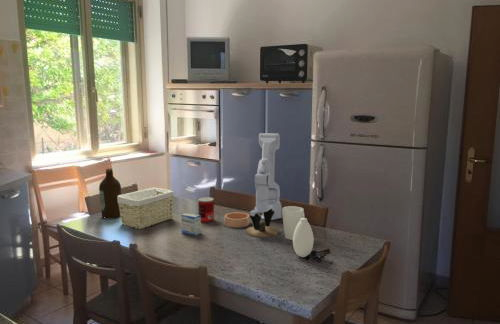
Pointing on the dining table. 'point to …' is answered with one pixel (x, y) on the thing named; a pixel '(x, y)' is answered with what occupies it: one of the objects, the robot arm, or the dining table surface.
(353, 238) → the dining table surface
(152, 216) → the storage basket
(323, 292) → the dining table surface
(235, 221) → the bowl
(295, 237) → the sauce bottle
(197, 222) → the medicine box
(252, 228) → the lid
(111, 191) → the olive oil
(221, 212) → the dining table surface
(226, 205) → the dining table surface
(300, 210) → the foam cup
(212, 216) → the canned food
